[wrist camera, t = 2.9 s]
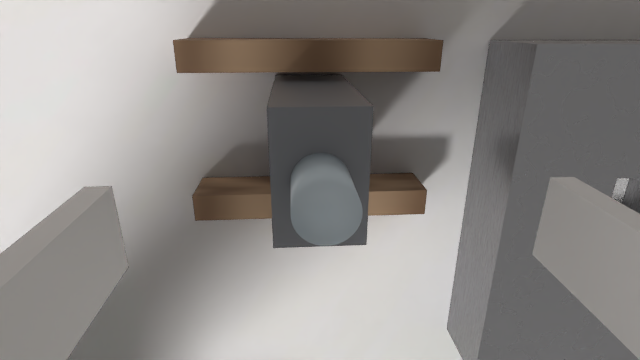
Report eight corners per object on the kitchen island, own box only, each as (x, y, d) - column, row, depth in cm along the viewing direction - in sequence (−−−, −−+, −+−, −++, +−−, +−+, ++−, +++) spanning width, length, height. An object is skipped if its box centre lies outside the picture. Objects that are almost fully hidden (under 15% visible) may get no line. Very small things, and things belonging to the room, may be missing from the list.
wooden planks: (205, 200, 27) (195, 220, 24) (187, 38, 23) (172, 40, 20) (410, 194, 28) (424, 213, 25) (425, 38, 24) (443, 40, 21)
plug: (279, 168, 26) (270, 291, 14) (275, 75, 24) (261, 126, 12) (339, 167, 27) (381, 287, 14) (341, 74, 24) (392, 124, 12)
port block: (446, 328, 32) (475, 384, 27) (489, 40, 24) (542, 44, 19) (656, 318, 33) (721, 370, 28) (763, 40, 25) (880, 44, 20)
